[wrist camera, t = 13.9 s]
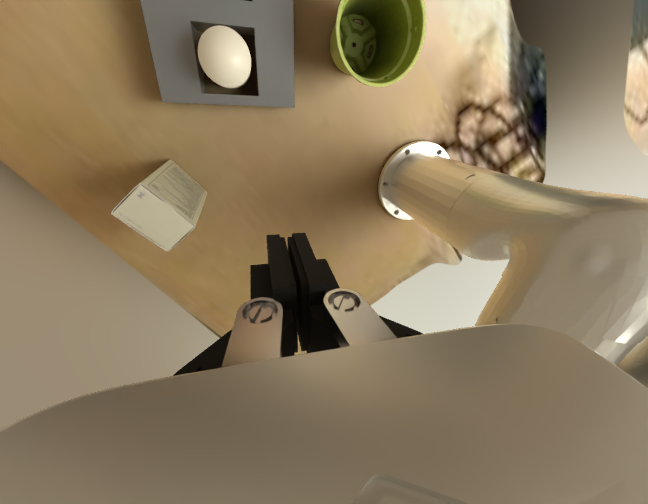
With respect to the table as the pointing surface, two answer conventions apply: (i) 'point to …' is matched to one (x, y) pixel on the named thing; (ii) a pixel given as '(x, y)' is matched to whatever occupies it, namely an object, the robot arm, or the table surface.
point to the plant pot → (378, 39)
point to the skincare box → (163, 206)
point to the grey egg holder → (243, 17)
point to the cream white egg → (224, 57)
